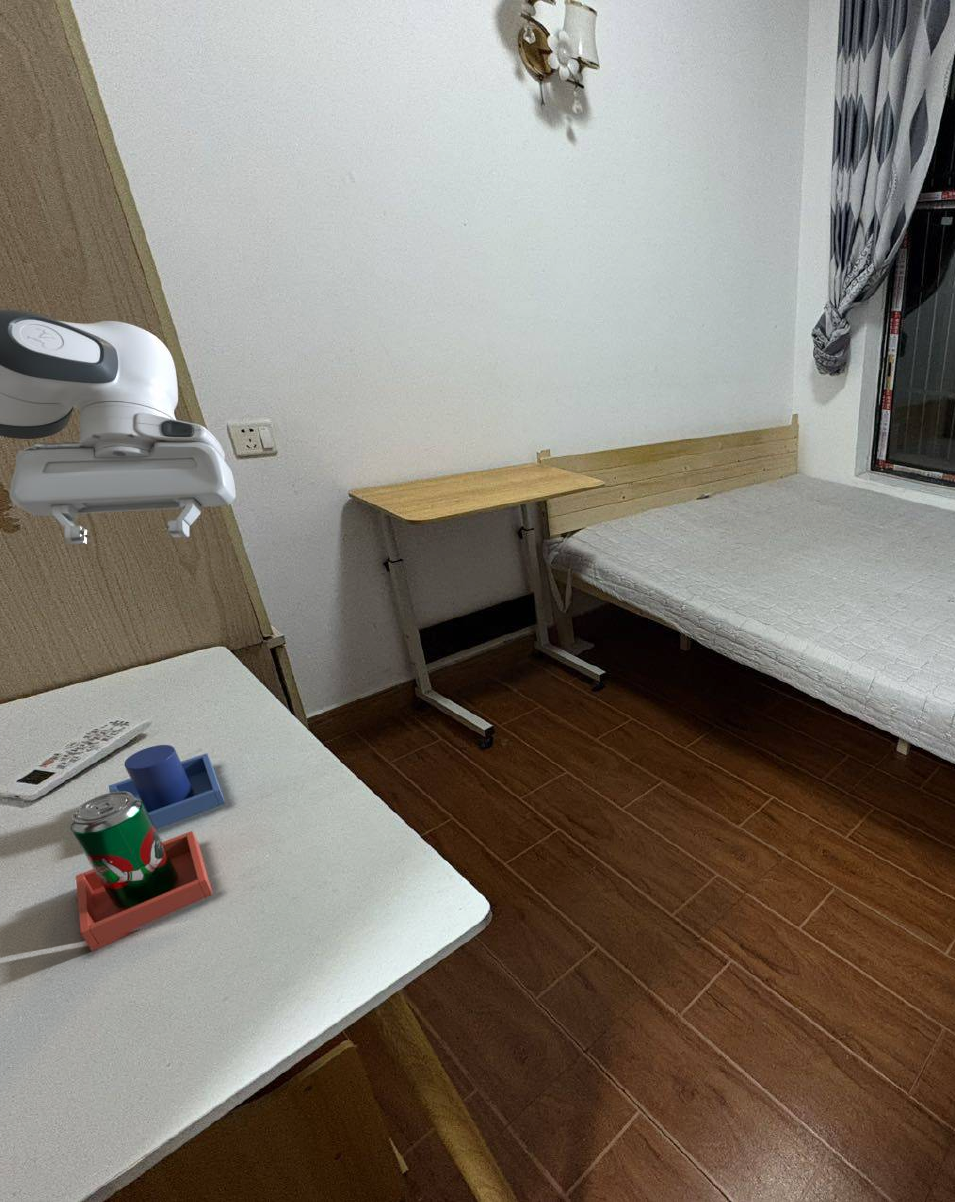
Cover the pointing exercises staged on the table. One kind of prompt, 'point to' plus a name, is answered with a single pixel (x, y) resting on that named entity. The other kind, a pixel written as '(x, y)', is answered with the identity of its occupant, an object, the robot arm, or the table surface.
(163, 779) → the blue solid cylinder
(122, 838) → the soda can
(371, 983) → the table surface
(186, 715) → the table surface
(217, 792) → the blue tray
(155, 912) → the red tray
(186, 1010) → the table surface
